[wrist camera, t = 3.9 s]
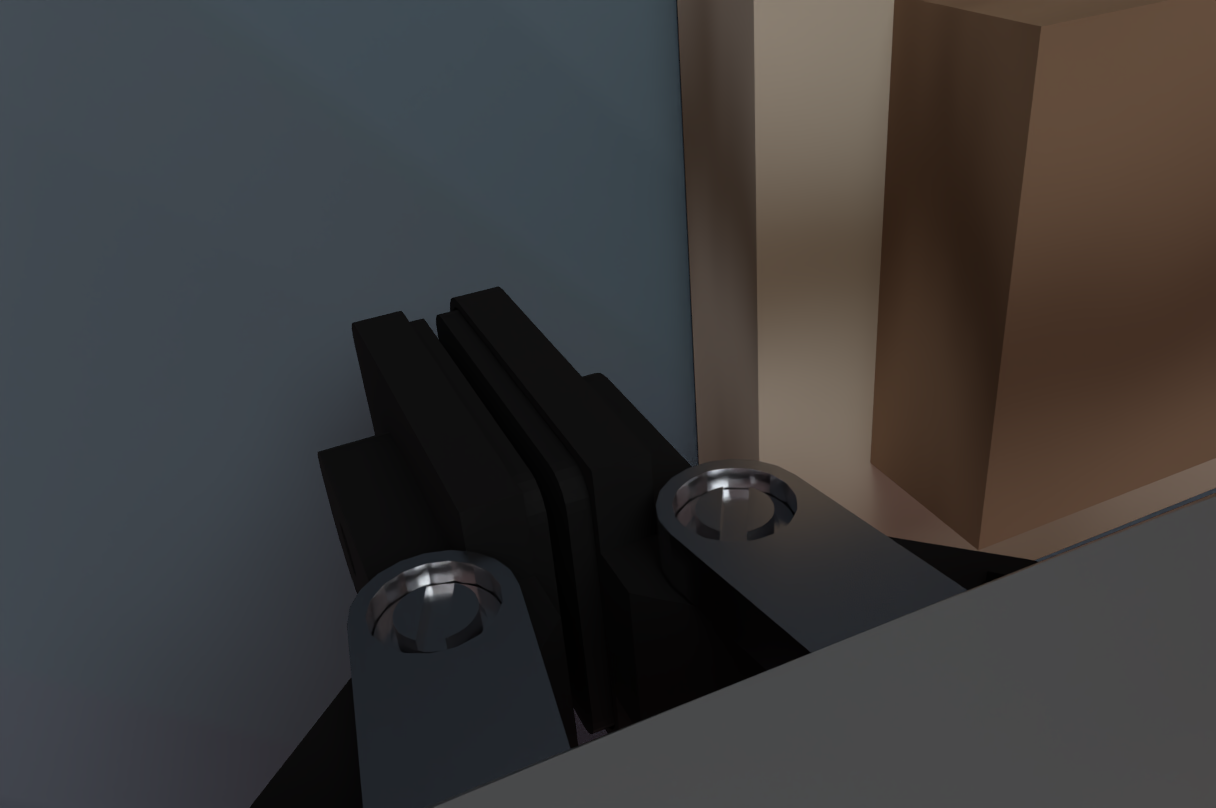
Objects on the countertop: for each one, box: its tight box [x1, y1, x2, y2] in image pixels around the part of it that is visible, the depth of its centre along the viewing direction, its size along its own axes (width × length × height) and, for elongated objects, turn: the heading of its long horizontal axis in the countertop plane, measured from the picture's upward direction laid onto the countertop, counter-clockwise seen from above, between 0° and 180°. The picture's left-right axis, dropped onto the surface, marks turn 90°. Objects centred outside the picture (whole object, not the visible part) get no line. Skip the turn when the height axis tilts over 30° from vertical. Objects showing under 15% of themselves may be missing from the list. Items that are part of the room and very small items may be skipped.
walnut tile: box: [870, 0, 1216, 550], centre depth 15 cm, size 7×9×2 cm
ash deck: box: [677, 0, 1216, 561], centre depth 17 cm, size 14×14×2 cm
